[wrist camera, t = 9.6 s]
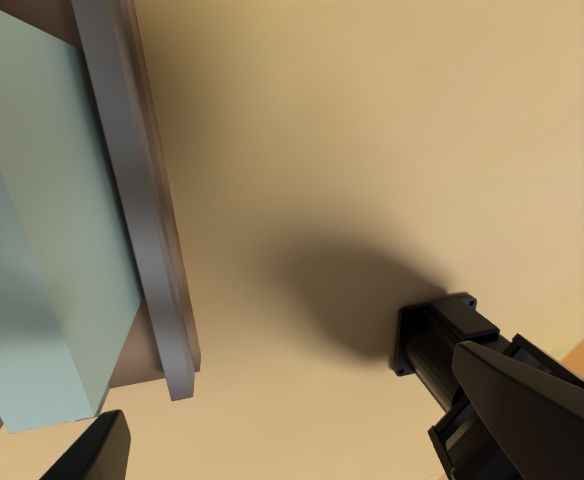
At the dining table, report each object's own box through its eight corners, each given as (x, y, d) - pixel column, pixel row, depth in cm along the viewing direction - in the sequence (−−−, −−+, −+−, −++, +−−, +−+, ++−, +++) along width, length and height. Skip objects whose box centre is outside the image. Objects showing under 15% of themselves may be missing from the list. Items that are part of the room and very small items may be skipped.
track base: (200, 355, 22) (198, 396, 19) (1, 391, 20) (-40, 444, 17) (112, -109, 13) (79, -180, 10) (-267, -137, 11) (-467, -240, 8)
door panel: (143, 294, 18) (94, 416, 11) (95, 301, 18) (9, 433, 10) (82, 50, 14) (-75, -26, 6) (15, 50, 13) (-238, -31, 6)
